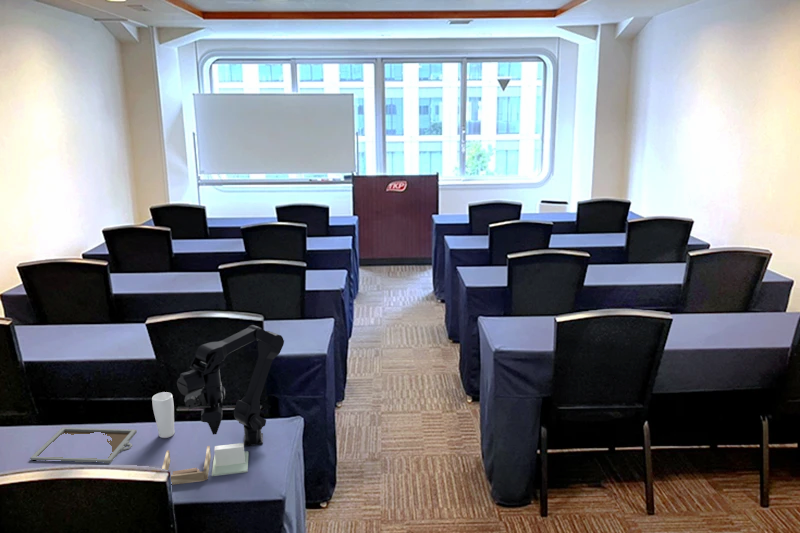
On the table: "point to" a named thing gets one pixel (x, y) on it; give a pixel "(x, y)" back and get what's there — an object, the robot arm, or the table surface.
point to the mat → (230, 467)
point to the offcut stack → (186, 471)
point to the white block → (229, 454)
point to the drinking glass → (164, 413)
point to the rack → (189, 476)
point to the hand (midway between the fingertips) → (215, 426)
